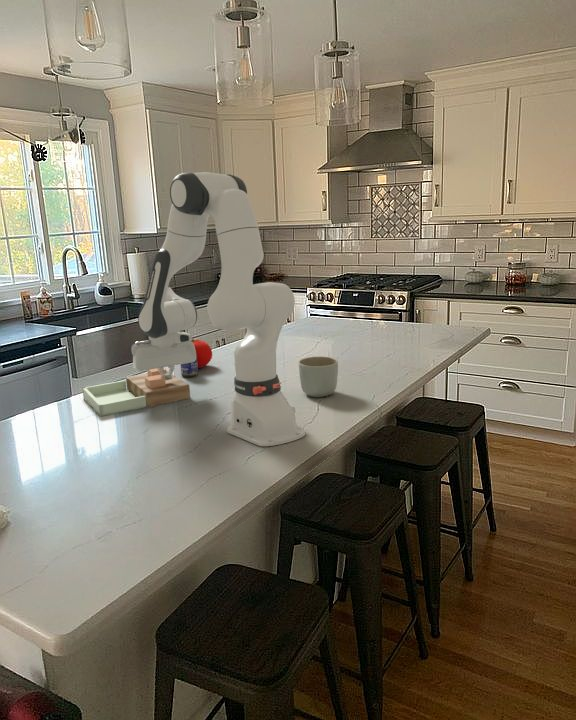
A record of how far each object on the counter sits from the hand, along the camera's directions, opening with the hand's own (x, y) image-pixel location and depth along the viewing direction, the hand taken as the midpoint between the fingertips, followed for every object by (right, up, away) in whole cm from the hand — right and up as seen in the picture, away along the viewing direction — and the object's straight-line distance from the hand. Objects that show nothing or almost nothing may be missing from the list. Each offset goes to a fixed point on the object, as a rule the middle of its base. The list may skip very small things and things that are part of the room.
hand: (166, 379), depth 191 cm
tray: (-16, -7, -3) cm, 18 cm away
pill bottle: (+3, 0, +25) cm, 25 cm away
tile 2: (-5, +1, +9) cm, 10 cm away
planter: (+49, -5, -2) cm, 49 cm away
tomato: (+4, +3, +35) cm, 35 cm away
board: (-4, -5, +5) cm, 8 cm away
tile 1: (-3, -2, -2) cm, 4 cm away
